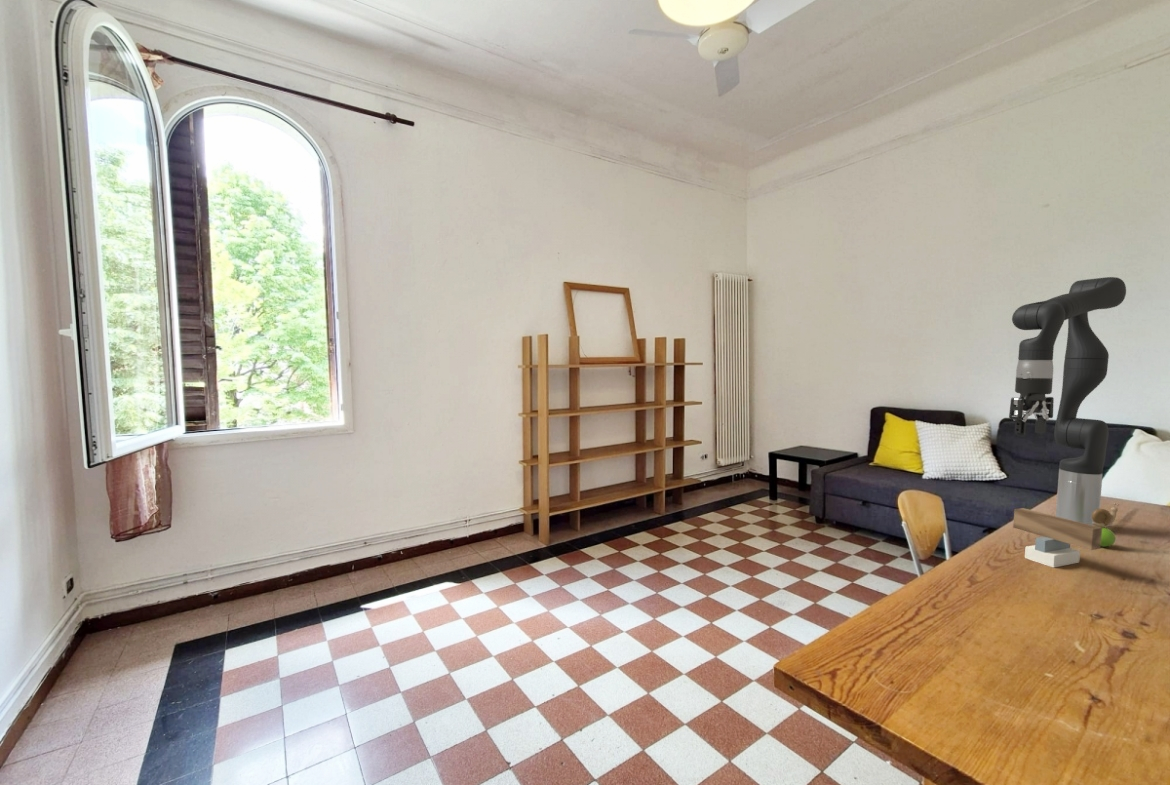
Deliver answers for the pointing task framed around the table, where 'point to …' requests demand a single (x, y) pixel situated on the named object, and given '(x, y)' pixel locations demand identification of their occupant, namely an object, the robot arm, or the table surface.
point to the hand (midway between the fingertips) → (1029, 434)
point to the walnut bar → (1058, 528)
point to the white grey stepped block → (1052, 552)
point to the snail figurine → (1105, 524)
